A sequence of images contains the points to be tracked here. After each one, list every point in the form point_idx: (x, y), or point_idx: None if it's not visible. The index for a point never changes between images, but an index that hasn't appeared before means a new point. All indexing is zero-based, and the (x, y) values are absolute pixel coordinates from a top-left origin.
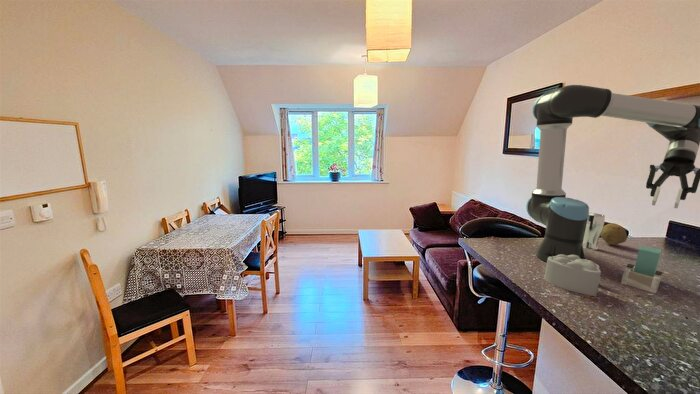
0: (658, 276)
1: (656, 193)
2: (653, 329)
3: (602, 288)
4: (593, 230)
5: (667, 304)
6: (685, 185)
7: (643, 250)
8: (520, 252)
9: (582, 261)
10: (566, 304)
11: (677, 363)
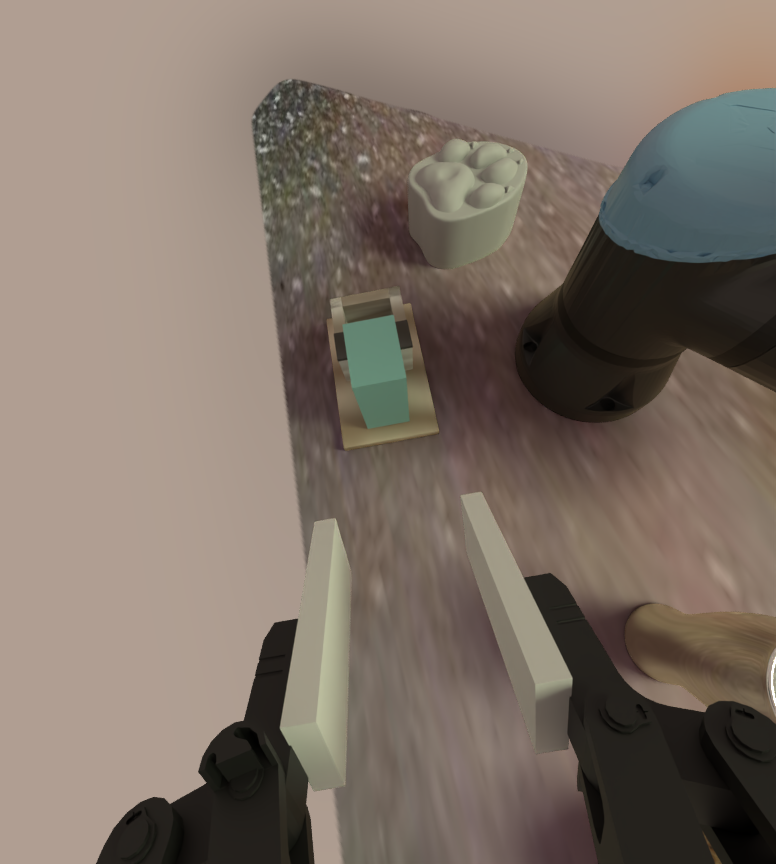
0: (336, 323)
1: (500, 561)
2: (306, 195)
3: (417, 271)
4: (702, 618)
5: (315, 316)
6: (241, 857)
7: (381, 317)
8: None
9: (450, 163)
10: (415, 150)
11: (268, 142)
